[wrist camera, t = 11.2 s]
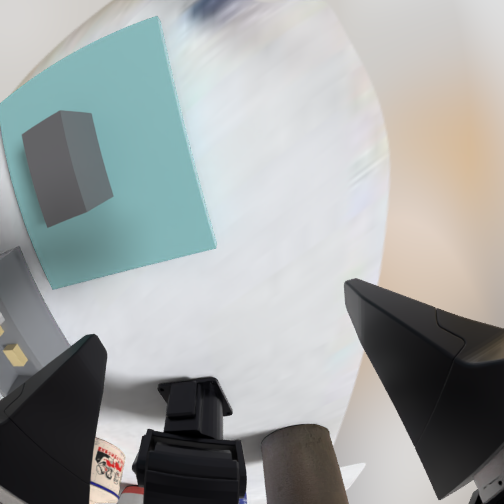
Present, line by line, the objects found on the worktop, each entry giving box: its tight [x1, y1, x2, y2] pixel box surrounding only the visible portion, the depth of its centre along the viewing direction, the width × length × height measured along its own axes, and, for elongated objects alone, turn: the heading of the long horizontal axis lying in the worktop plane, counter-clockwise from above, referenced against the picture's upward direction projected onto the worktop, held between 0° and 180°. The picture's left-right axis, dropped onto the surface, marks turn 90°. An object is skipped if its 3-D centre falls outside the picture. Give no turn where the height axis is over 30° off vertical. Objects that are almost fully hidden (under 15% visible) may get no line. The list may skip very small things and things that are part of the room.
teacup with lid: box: [89, 438, 125, 504], centre depth 27 cm, size 12×9×12 cm
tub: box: [0, 247, 71, 398], centre depth 20 cm, size 16×14×5 cm
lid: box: [0, 16, 217, 290], centre depth 15 cm, size 17×15×6 cm
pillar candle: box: [261, 424, 349, 504], centre depth 26 cm, size 10×10×15 cm
